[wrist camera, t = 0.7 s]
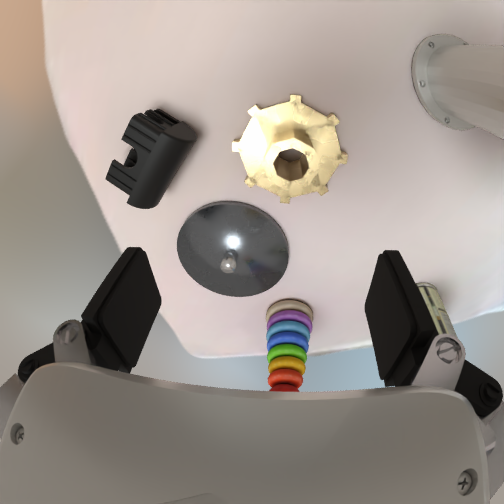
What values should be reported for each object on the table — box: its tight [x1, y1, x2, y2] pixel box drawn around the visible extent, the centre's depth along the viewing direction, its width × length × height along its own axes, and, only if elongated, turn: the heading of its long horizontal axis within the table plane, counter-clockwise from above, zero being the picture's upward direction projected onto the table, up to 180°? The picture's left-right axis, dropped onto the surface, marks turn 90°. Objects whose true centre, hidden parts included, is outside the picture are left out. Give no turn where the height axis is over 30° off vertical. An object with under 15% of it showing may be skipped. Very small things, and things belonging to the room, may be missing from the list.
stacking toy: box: [266, 300, 313, 392], centre depth 39 cm, size 8×8×19 cm
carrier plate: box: [177, 201, 288, 297], centre depth 38 cm, size 16×16×4 cm
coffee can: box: [417, 283, 457, 338], centre depth 36 cm, size 10×10×14 cm
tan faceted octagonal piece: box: [232, 94, 348, 204], centre depth 27 cm, size 12×12×6 cm
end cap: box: [106, 109, 197, 209], centre depth 29 cm, size 10×7×7 cm
